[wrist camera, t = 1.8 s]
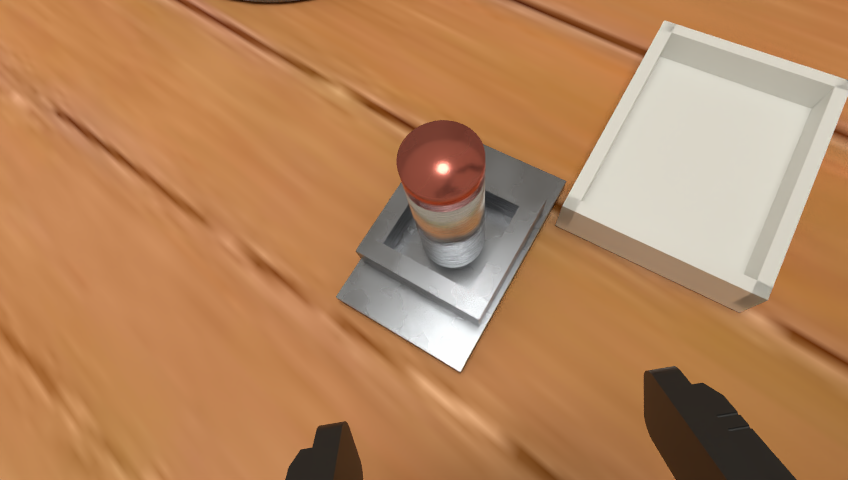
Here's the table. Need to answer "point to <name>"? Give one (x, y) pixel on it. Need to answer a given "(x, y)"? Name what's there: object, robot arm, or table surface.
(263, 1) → the frisbee
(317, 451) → the robot arm
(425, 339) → the hitch
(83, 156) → the table surface
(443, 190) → the pin
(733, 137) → the tray
